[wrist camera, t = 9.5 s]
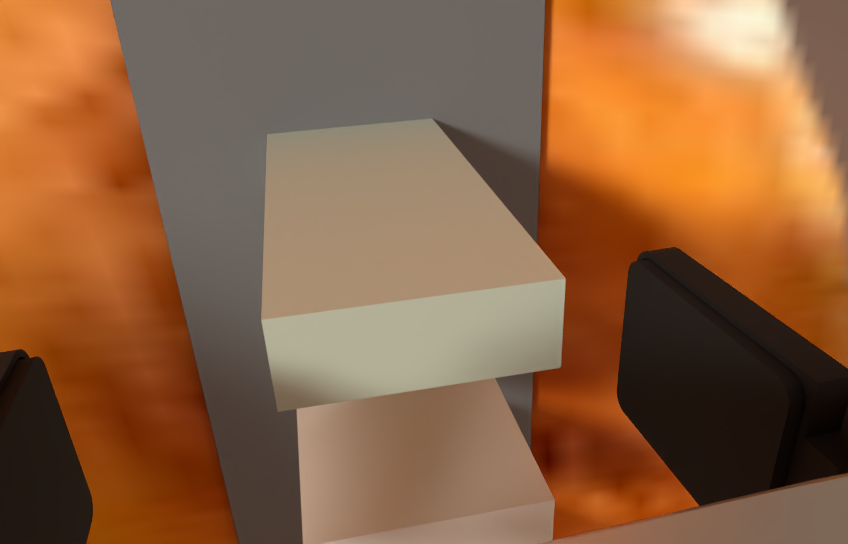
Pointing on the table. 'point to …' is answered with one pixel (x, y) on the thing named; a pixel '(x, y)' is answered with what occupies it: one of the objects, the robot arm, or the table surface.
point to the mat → (299, 111)
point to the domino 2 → (421, 470)
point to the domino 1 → (395, 269)
